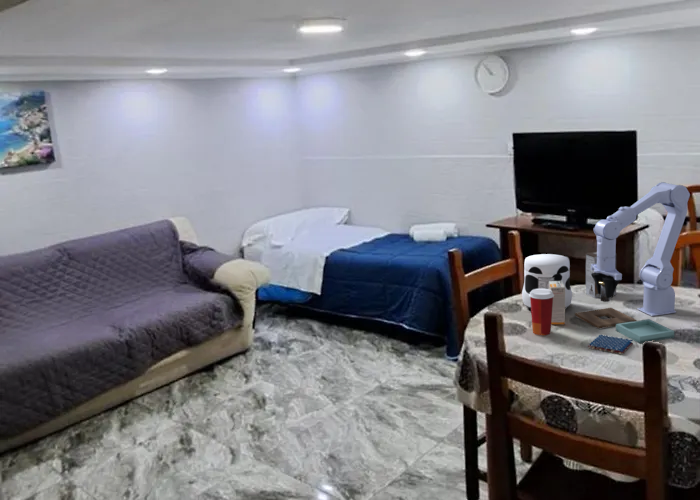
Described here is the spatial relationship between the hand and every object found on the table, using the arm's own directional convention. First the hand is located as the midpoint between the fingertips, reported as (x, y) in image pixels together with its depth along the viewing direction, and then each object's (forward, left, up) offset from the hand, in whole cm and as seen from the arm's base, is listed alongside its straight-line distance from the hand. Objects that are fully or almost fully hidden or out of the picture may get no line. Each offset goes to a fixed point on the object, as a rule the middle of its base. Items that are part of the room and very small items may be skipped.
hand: (605, 295), depth 218 cm
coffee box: (-14, -24, -9) cm, 29 cm away
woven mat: (+12, +21, -9) cm, 26 cm away
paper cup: (+25, +3, -9) cm, 27 cm away
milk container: (+11, -19, -9) cm, 24 cm away
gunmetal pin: (0, 0, -2) cm, 2 cm away
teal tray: (-3, +16, -8) cm, 19 cm away
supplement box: (+15, -5, -9) cm, 18 cm away
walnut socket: (0, 0, -8) cm, 8 cm away
